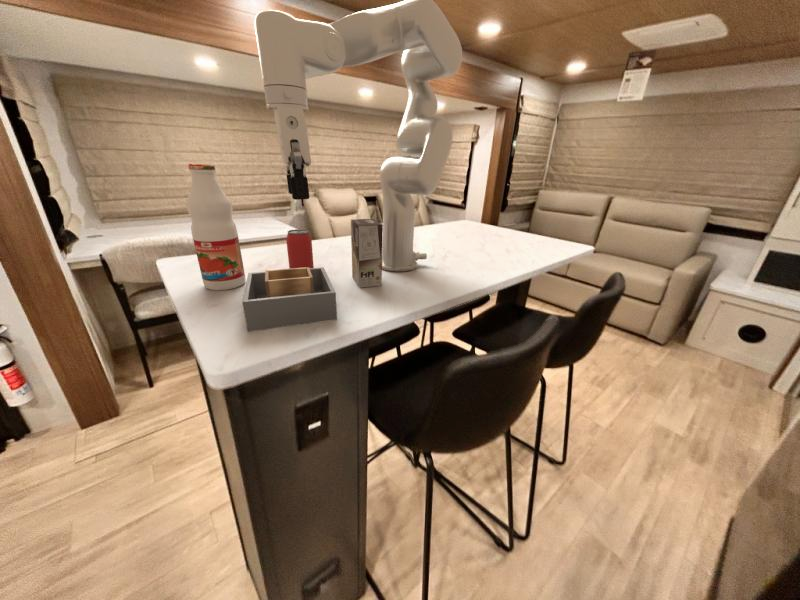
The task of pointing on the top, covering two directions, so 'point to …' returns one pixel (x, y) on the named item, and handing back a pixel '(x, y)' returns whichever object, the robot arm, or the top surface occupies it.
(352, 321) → the top surface
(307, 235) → the beer can
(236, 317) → the top surface
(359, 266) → the coffee box
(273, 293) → the small crate
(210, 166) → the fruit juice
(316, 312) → the big crate
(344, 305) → the top surface
